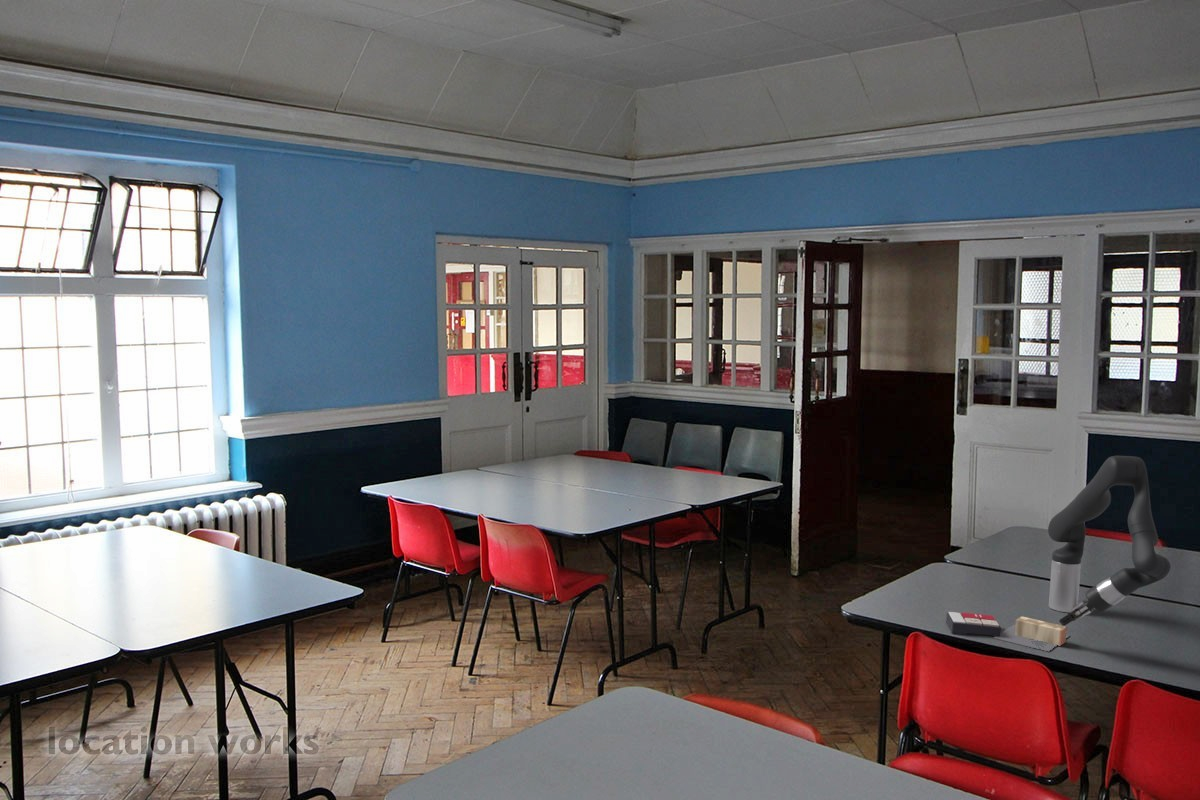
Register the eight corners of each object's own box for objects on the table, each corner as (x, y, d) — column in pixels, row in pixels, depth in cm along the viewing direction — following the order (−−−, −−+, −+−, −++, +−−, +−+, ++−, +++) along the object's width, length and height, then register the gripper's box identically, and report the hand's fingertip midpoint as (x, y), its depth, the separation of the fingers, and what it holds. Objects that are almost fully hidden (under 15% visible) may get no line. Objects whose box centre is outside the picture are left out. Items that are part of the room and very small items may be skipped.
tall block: (1065, 642, 310) (1020, 631, 319) (1066, 626, 309) (1021, 616, 319) (1060, 646, 306) (1014, 634, 316) (1061, 630, 306) (1015, 619, 315)
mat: (1016, 623, 328) (1016, 622, 328) (1069, 636, 316) (1069, 635, 316) (993, 638, 313) (993, 637, 313) (1048, 652, 302) (1048, 651, 302)
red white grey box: (1001, 625, 314) (952, 620, 316) (1000, 638, 314) (951, 633, 317) (993, 614, 324) (946, 609, 327) (992, 627, 325) (945, 622, 327)
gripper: (1104, 579, 305) (1060, 608, 314) (1091, 588, 295) (1046, 617, 305) (1121, 599, 302) (1076, 628, 311) (1108, 609, 292) (1063, 638, 302)
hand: (1061, 622), depth 308 cm, fingers closed
